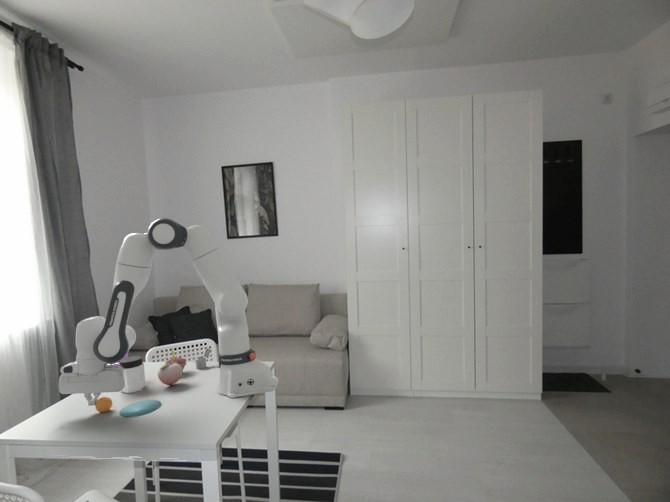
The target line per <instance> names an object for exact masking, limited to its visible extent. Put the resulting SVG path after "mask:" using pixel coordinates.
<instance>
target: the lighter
mask: <svg viewBox="0 0 670 502" xmlns="http://www.w3.org/2000/svg"><path fill="white" fill-rule="evenodd" d="M211 349H212V348H210V347H209V348H208V347H206V348H205V351H204V354H203V355H199V356H197V358H196V359H195V368H196V370H198V369H199V370H202V369H204V367H205V368H207V359H208V358H209V357H210V353H211V351H212V350H211ZM201 368H202V369H201Z"/></svg>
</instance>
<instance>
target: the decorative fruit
mask: <svg viewBox="0 0 670 502" xmlns="http://www.w3.org/2000/svg"><path fill="white" fill-rule="evenodd" d="M177 363H178V364H177ZM183 374H184V369H182V367H181V366H180V365H179V362H175V361H174V362H171V363H170V361H169V364H163V365H161V367H160V368H159V371H158V372H157V378H158V379H159V381H160V382H161V383H162V384H163V385H167V386H170V387H172V386H173V385H174V384H175V383H177V382H179V381H180V380H181V378H182V376H183Z"/></svg>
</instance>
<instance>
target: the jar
mask: <svg viewBox="0 0 670 502" xmlns="http://www.w3.org/2000/svg"><path fill="white" fill-rule="evenodd" d="M118 362H119V365H121V366H122V367H123V369H124V373H123V376H124V381H125V386H124V388H123V389H122V390H121V391H119V393H120V392H121V393H124V394H131V393H132V394H133V393H136V392H139V391H142V390H143V389H144V388H145V387H146V384H147V383H146V373H145V363H144V362H143V356H141V355H131V356H128V357H127V358H123V359H121V360H119V361H118Z"/></svg>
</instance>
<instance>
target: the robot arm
mask: <svg viewBox="0 0 670 502" xmlns="http://www.w3.org/2000/svg"><path fill="white" fill-rule="evenodd" d="M178 248H180V249H182V250H184V252H185V253H186V255H187V257H188V258H189V260H190V262H191V264H192V266H193V267H194V269H195V271H196V273H197V275H198V276H199V278H200V280H201V281H202V283H203V285H204V287H205V289H206V291H207V292H208V294H209V296H210V297H211V299H212V302H214V308H215V319H216V327H217V337H218V339H217V340H218V350H219V351H218V356H217V361H218V367H219V380H218V388H217V392H218V394H220V395H222V396H227V397H228V398H233V399H234V398H239V397H245V396H253V395H257V394H264V393H271V392H274V391H275V390H277V388H278V386H279V385H280V384H279V383H280V381H279V378H278V377H277V376H274V375H273V373H272V369H271V368H270V366H269V365H268V364H266V363H264V362H263V361H261V360H260V359H259V358H256V357H257V356H256V349H255V348H254V349H252V348H251V347H250V336H249V326H248V321H247V313H246V310H247V308H248V304H249V297H248V295H247V293H246V292H245V290H244V288H243V286H242V284H241V283H240V281H239V280H238V278H237V276H236V275H235V273H234V271H233V269H232V268H231V266H230V264H229V262H228V261H227V259H226V256H225V255H224V253H223V251H222V250H221V247H220V246H219V244H218V243H217V241H216V240H215V238H214V237H213V235H212V233H210V231H209V230H208V229H207V227H205V226H204V225H201V224H193V225H190V226H189V227H184V226H183V225H181V224H180V223H178V222H177V221H176V220H174V219H171V218H167V217H165V218H164V217H162V218H158V219H155V220H154V221H153V222H151V223H150V225H149V226H148V228H147V232H146V233H140V232H133V233H130V234H129V233H128V235H126V236H125V237H124V238H123V241H122V244H121V246H120V248H119V251H118V254H117V258H116V263H115V269H114V275H113V276H114V277H113V285H112V291H111V297H110V302H109V304H108V309H107V313H106V317H105V316H102V315H101V316H100V315H98V316H97V315H95V316H91V317H87V318H84V319H82V320H80V321H79V322H78V323H77V324H76V328H75V347H76V351H77V352H76V356H75V360H74V361H72V362H69V363H67V364H65V365H63V366H61V367H60V369H59V370H60V373H61V374H60V376H59V377H58V378H59V379H58V392H59V393H60V394H61V395H69V394H70V395H72V394H73V395H75V394H76V395H77V394H83V395H84V398H85V399H86V401H87V403H88V406H89V407H90V406H95V405H96V402H97V401H98V400H99V399H100V398H99V397H100V396H101V394H102V393H120V391H121V390H122V389H123V388H124V386H125V381H124V376H123V373H124V369H123V367H122V366H121V365H119V364H114V363H118V362H119V361H120V360H121V359H122V358H123V357H124V356H125V354H126V353H127V351H128V350H129V351H130V350H131V348H132V347H133V346H134V345H135V343H136V341H137V331H136V330H135V328H134V327H132V325H129V324H128V322H129V317H130V313H131V309H132V306H133V303H134V301H135V300H136V298H137V297H138V295H139V294H140V293H141V292H142V291H143V290H144V288H145V287H146V285H147V283H148V282H149V279H150V275H151V272H152V266H153V262H154V261H153V260H154V259H155V258H154V257H155V254H156V253H157V252H158V251H163V250H164V251H171V250H173V249H178ZM119 366H120V367H119ZM92 394H93V396H94V398H93V397H92Z"/></svg>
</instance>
